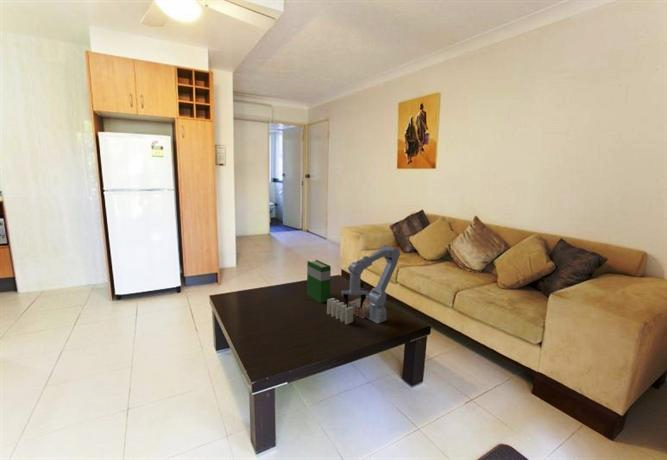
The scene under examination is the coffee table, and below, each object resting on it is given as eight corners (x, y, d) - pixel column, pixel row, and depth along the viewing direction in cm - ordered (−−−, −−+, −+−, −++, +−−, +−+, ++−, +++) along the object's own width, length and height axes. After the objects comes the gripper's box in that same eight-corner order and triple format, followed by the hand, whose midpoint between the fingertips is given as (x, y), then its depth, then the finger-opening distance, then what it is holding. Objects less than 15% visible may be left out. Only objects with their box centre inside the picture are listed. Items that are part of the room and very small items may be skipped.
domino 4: (348, 319, 185) (348, 305, 183) (342, 321, 182) (342, 307, 180) (346, 318, 186) (346, 304, 184) (340, 320, 183) (340, 306, 181)
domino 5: (352, 321, 182) (353, 307, 180) (346, 324, 179) (347, 309, 177) (350, 320, 183) (351, 306, 181) (344, 323, 180) (345, 308, 178)
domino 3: (343, 317, 188) (343, 302, 186) (337, 319, 185) (337, 304, 183) (341, 316, 189) (342, 301, 187) (335, 318, 186) (336, 303, 184)
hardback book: (307, 294, 221) (307, 261, 217) (316, 292, 226) (316, 259, 221) (320, 303, 207) (321, 267, 203) (329, 300, 211) (330, 266, 207)
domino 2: (339, 314, 191) (339, 300, 189) (332, 316, 188) (333, 302, 186) (337, 313, 192) (337, 299, 190) (331, 315, 189) (331, 301, 187)
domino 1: (334, 312, 194) (335, 298, 192) (328, 314, 191) (329, 300, 189) (332, 311, 195) (333, 297, 193) (326, 313, 192) (327, 299, 190)
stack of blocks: (367, 293, 209) (383, 298, 201) (367, 302, 210) (383, 307, 202) (347, 302, 193) (363, 308, 185) (347, 312, 194) (363, 318, 186)
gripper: (367, 281, 178) (366, 304, 181) (341, 281, 178) (340, 304, 180) (368, 286, 172) (367, 309, 174) (342, 285, 171) (341, 309, 174)
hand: (354, 307), depth 177 cm, fingers open, 7 cm apart
